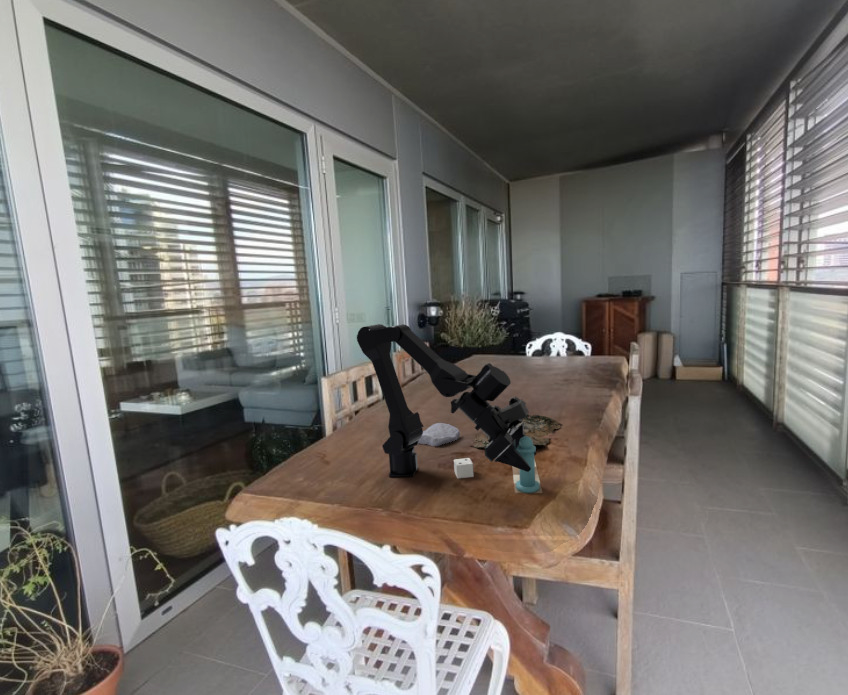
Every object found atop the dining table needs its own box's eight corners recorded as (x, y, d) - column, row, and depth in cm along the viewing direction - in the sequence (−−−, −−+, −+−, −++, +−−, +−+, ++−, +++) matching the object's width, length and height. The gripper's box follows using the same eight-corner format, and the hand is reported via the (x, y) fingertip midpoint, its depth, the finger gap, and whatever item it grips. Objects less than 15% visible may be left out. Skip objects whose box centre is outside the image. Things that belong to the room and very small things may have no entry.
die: (457, 481, 114) (456, 465, 113) (454, 474, 118) (453, 459, 117) (473, 479, 114) (472, 463, 114) (470, 473, 118) (469, 457, 118)
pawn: (516, 493, 104) (514, 440, 102) (515, 483, 109) (513, 433, 107) (540, 493, 103) (538, 440, 101) (538, 483, 108) (536, 432, 106)
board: (514, 495, 104) (514, 492, 104) (511, 461, 124) (511, 459, 123) (542, 495, 103) (542, 492, 103) (534, 461, 123) (534, 459, 123)
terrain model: (490, 419, 165) (489, 406, 164) (563, 427, 153) (563, 413, 153) (454, 448, 138) (454, 432, 137) (541, 460, 126) (541, 443, 125)
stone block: (462, 442, 147) (437, 432, 153) (464, 428, 145) (438, 418, 151) (439, 456, 138) (414, 444, 144) (440, 441, 137) (415, 430, 142)
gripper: (496, 399, 96) (554, 454, 93) (512, 380, 113) (561, 426, 110) (462, 434, 100) (516, 488, 97) (482, 411, 117) (529, 456, 114)
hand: (532, 462), depth 105 cm, fingers open, 9 cm apart
